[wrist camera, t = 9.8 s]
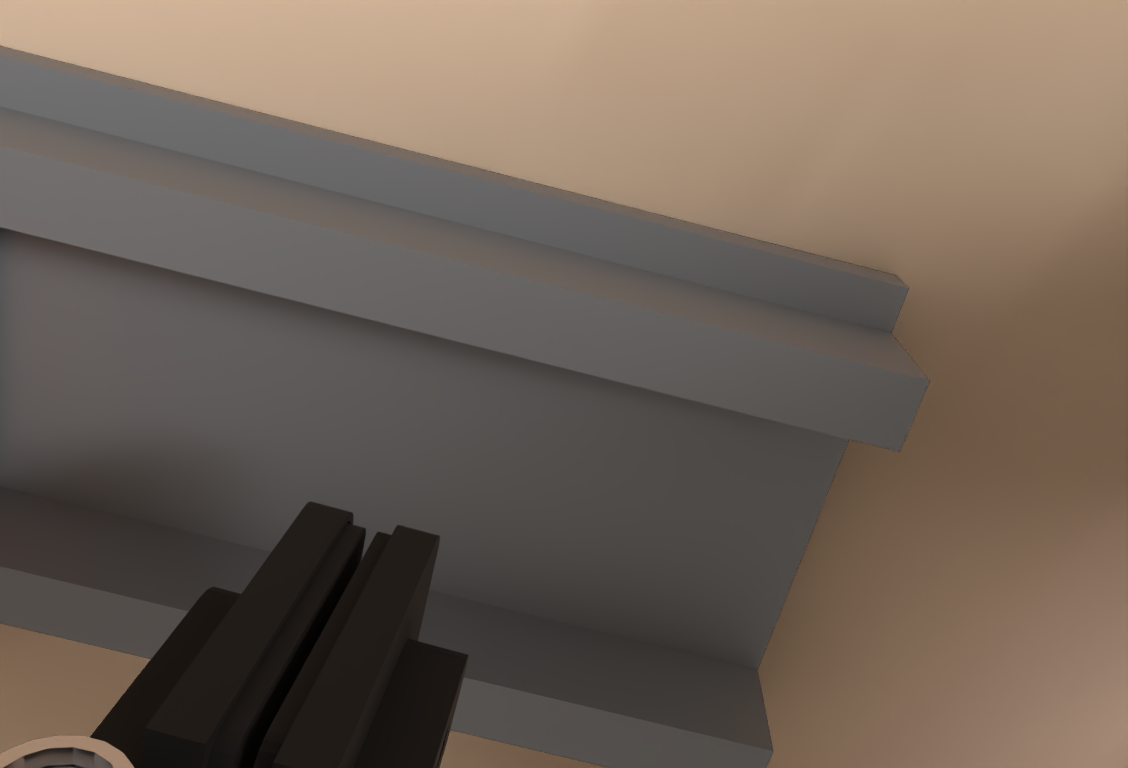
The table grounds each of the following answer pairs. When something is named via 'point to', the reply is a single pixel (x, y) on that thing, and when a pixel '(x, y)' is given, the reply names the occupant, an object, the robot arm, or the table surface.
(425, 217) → the chute
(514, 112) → the table surface
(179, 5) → the table surface
